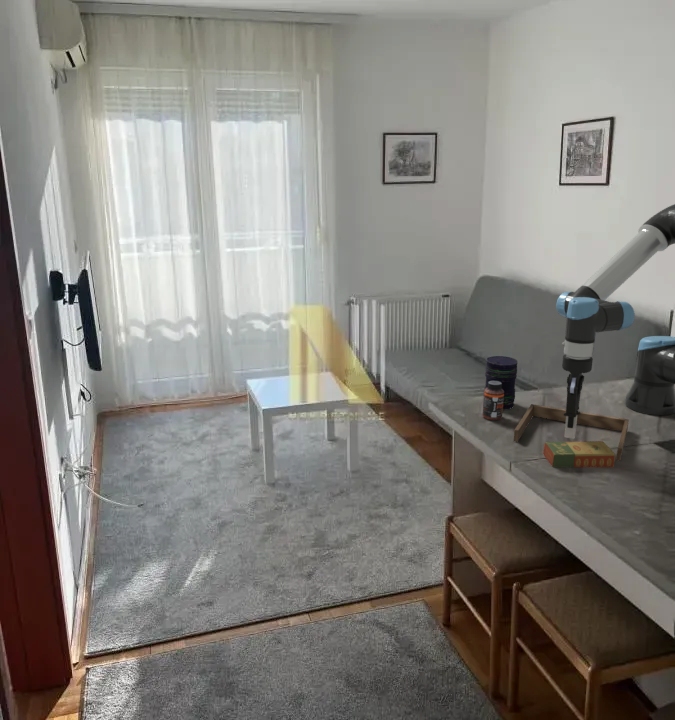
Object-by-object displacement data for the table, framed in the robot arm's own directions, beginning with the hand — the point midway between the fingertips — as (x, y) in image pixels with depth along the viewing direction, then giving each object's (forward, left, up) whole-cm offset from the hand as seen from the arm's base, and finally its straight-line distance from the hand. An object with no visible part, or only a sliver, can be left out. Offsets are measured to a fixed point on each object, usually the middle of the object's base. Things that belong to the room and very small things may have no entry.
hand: (569, 436), depth 187 cm
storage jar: (+25, -23, -3) cm, 34 cm away
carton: (-4, +9, -3) cm, 10 cm away
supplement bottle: (+24, -11, -3) cm, 27 cm away
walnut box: (0, -7, -2) cm, 7 cm away
